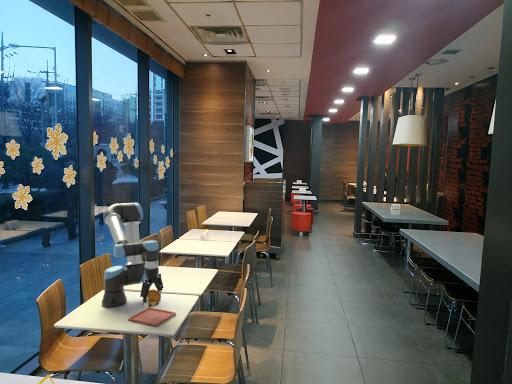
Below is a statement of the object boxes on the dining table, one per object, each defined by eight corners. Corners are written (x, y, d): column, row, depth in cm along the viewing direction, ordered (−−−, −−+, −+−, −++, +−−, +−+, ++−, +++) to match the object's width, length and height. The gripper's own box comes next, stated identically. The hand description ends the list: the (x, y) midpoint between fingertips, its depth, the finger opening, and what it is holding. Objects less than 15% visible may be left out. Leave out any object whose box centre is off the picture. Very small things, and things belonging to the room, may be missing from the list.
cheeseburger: (152, 300, 223) (155, 285, 221) (163, 308, 217) (166, 293, 215) (138, 304, 215) (140, 289, 213) (148, 313, 209) (151, 297, 207)
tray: (128, 320, 211) (128, 318, 211) (149, 309, 228) (148, 307, 228) (156, 326, 204) (156, 324, 203) (175, 314, 220) (175, 312, 220)
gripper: (143, 273, 202) (144, 312, 203) (169, 263, 223) (169, 299, 224) (132, 271, 205) (133, 310, 206) (159, 262, 226) (159, 297, 227)
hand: (152, 304), depth 215 cm, fingers closed on cheeseburger, 10 cm apart
